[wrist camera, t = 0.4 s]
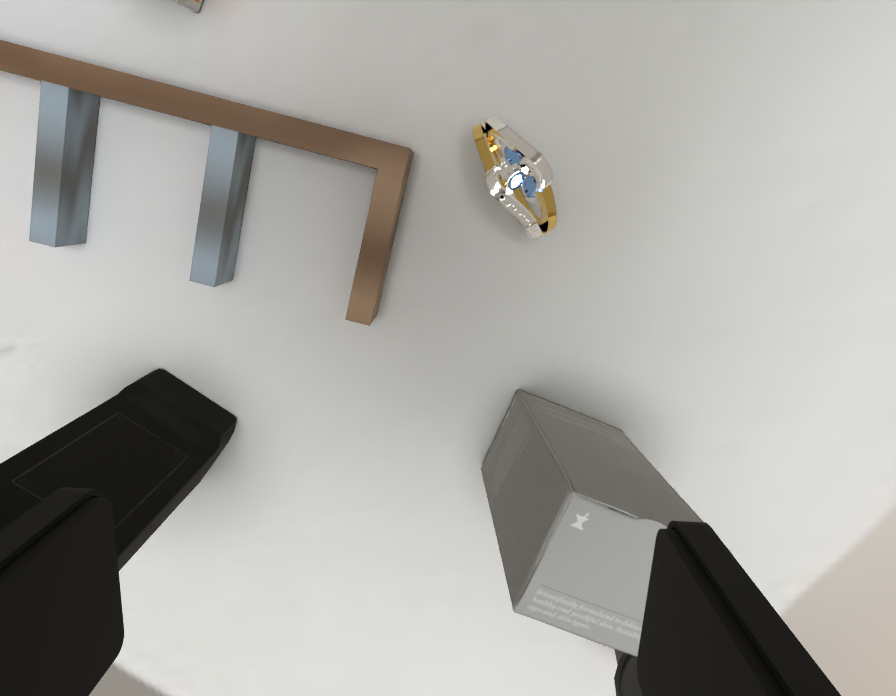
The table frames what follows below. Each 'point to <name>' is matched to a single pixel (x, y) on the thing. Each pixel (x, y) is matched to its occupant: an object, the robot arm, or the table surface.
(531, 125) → the table surface
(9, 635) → the robot arm
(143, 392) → the portable radio
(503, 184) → the ring
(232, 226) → the slot rack
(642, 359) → the table surface
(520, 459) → the skincare box
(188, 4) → the skincare box
